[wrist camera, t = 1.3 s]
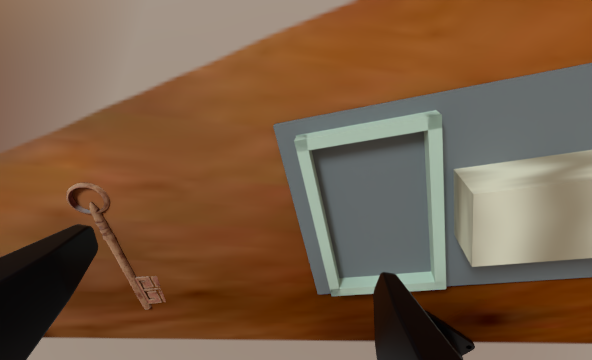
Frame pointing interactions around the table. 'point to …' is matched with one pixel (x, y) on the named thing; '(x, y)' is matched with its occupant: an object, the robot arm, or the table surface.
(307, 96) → the table surface
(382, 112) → the mat
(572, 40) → the table surface
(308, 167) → the tray frame
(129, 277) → the key
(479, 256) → the card box
